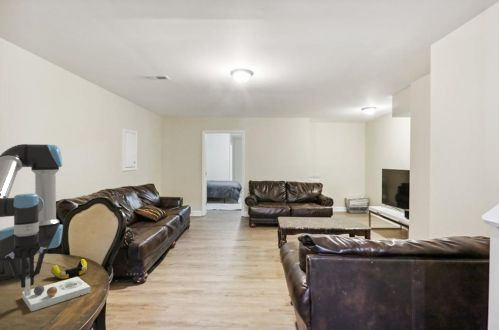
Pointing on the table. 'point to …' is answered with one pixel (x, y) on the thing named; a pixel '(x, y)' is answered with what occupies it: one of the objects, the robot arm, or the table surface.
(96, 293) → the table surface
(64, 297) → the plate
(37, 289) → the ball
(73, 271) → the gaming controller
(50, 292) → the wood ball
